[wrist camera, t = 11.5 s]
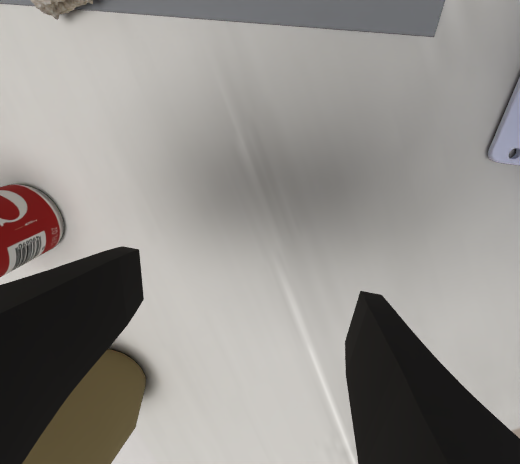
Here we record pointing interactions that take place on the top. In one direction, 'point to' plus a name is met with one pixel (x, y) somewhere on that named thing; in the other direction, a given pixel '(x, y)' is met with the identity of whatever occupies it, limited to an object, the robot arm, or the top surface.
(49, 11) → the washcloth
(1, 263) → the soda can
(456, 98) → the top surface
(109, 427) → the squeeze bottle
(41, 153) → the top surface
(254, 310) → the top surface
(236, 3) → the placemat
